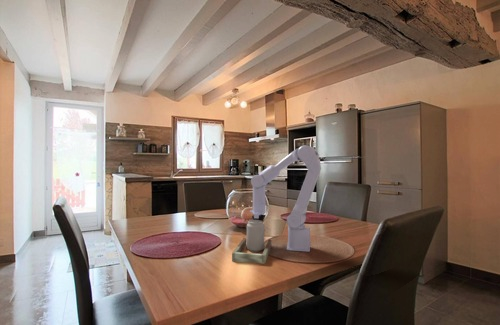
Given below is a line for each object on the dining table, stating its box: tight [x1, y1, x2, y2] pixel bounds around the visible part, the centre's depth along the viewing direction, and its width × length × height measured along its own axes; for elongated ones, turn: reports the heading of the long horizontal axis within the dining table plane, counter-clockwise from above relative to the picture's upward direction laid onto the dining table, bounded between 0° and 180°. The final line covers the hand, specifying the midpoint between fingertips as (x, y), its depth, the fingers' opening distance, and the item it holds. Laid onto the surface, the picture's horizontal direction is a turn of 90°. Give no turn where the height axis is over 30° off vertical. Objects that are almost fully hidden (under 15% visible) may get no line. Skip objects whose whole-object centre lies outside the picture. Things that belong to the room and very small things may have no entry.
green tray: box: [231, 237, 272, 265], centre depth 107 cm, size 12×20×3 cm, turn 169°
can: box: [246, 219, 265, 253], centre depth 112 cm, size 8×8×12 cm
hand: (258, 231), depth 121 cm, fingers closed
